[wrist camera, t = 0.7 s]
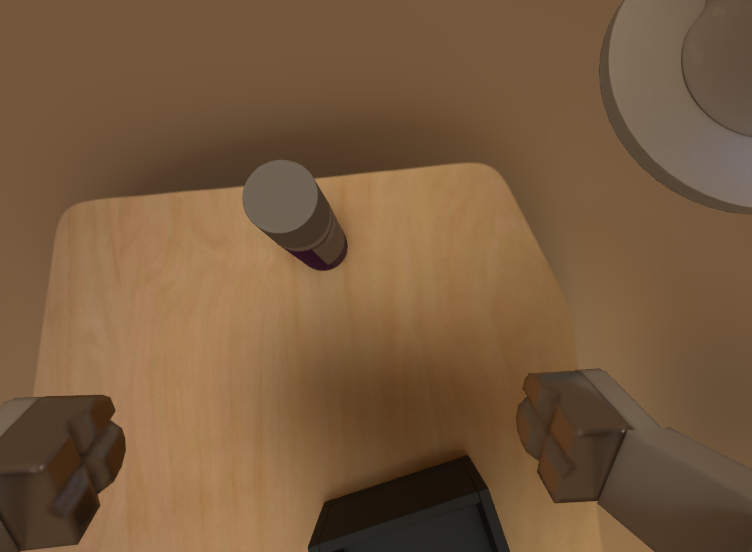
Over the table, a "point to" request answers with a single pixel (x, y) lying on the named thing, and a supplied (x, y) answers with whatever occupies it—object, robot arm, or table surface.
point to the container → (295, 213)
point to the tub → (414, 515)
